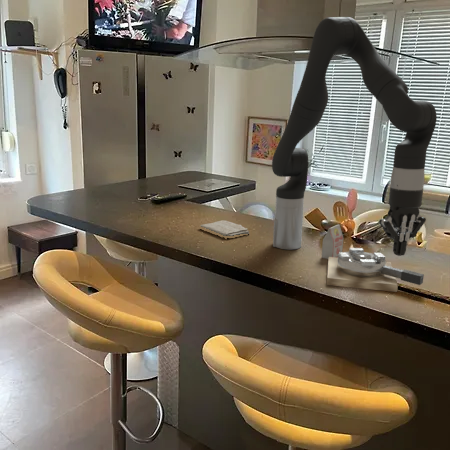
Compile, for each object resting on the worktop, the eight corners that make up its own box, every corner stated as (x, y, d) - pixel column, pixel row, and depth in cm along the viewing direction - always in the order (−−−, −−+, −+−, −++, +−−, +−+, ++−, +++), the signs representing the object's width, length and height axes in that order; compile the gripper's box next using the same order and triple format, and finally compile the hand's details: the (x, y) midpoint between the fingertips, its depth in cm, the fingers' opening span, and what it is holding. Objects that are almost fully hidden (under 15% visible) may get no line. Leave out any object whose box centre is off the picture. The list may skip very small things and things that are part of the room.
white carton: (321, 257, 146) (323, 227, 143) (331, 252, 151) (333, 223, 148) (332, 260, 143) (334, 229, 141) (342, 255, 148) (344, 225, 146)
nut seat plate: (326, 284, 124) (327, 276, 123) (328, 263, 141) (328, 255, 140) (396, 291, 120) (397, 283, 119) (389, 268, 137) (390, 261, 136)
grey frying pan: (328, 268, 129) (329, 254, 128) (351, 257, 138) (352, 244, 137) (410, 292, 114) (412, 276, 113) (430, 278, 123) (432, 263, 122)
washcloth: (227, 241, 162) (227, 233, 162) (197, 230, 176) (197, 222, 175) (251, 236, 170) (252, 228, 169) (221, 225, 183) (221, 218, 182)
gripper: (395, 190, 104) (388, 262, 109) (439, 187, 109) (430, 256, 113) (373, 185, 111) (367, 253, 115) (416, 182, 116) (408, 247, 120)
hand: (399, 254), depth 114 cm, fingers closed
